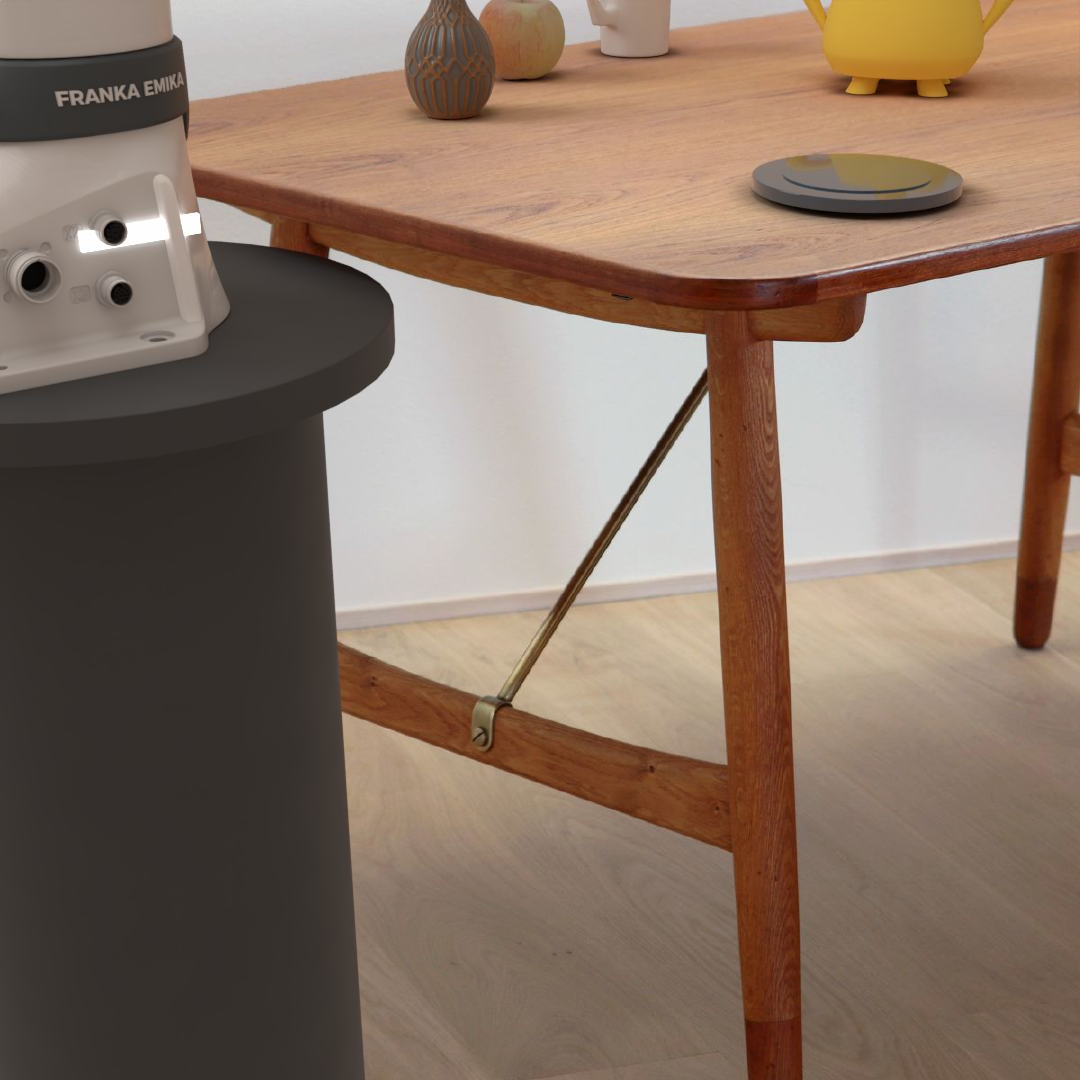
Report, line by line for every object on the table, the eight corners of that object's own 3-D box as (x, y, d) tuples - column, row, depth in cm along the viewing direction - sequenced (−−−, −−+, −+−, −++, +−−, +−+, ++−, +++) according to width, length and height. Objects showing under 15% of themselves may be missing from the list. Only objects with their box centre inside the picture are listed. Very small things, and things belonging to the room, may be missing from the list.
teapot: (1026, 90, 141) (1043, -63, 136) (895, 108, 134) (908, -52, 129) (907, 66, 152) (919, -77, 147) (780, 82, 145) (788, -67, 140)
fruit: (507, 67, 153) (506, -28, 150) (579, 74, 149) (579, -23, 146) (459, 80, 147) (456, -18, 144) (532, 88, 143) (531, -13, 140)
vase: (412, 125, 130) (408, 3, 126) (401, 108, 136) (396, -9, 132) (503, 121, 131) (501, 0, 127) (488, 104, 137) (485, -11, 133)
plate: (880, 231, 100) (881, 209, 100) (708, 195, 109) (709, 174, 108) (1002, 193, 109) (1004, 172, 108) (834, 162, 117) (835, 143, 116)
